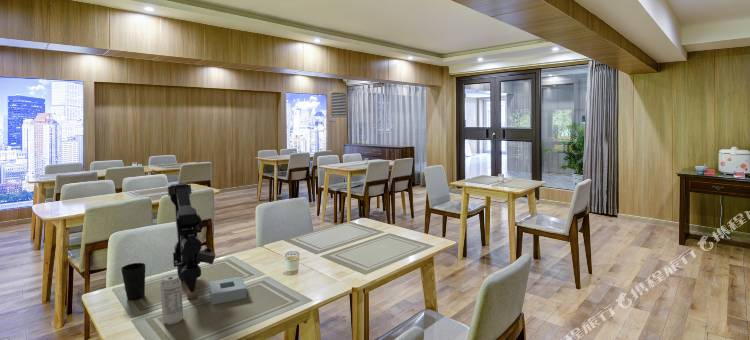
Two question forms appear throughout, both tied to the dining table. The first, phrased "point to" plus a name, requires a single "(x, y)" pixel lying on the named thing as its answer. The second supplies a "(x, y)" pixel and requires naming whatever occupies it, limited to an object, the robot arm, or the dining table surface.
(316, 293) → the dining table surface
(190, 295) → the dowel
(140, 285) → the cup
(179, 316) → the energy drink can
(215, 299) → the socket
